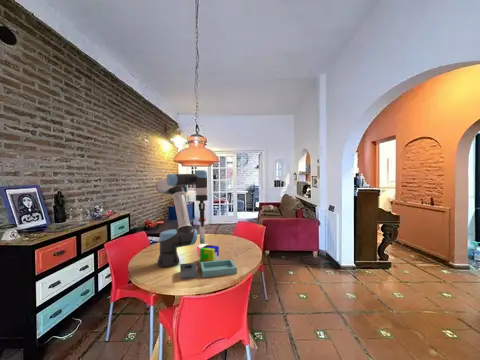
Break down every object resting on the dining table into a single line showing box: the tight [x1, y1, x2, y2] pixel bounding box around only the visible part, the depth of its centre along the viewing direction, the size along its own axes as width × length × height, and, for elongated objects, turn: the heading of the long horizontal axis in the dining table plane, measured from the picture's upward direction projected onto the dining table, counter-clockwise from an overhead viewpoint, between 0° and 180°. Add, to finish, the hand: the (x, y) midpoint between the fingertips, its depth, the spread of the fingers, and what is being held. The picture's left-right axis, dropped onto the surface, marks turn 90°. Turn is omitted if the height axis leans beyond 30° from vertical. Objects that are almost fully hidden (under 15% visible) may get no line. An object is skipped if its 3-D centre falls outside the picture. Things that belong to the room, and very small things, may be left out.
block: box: [179, 262, 198, 280], centre depth 149 cm, size 12×10×5 cm
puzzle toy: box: [199, 244, 220, 263], centre depth 172 cm, size 10×10×10 cm
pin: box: [197, 216, 207, 245], centre depth 150 cm, size 5×5×16 cm
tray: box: [199, 258, 238, 278], centre depth 155 cm, size 16×22×4 cm
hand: (202, 230), depth 150 cm, fingers closed on pin, 5 cm apart
